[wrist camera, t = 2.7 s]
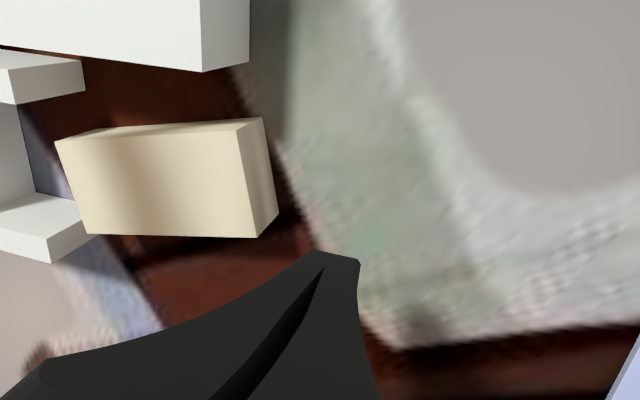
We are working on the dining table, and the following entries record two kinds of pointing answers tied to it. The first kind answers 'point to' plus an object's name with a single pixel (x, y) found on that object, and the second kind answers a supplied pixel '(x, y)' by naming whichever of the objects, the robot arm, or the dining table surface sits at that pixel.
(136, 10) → the white u-shaped block
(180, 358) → the robot arm
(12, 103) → the end cap
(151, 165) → the beige rectangular block
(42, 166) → the dining table surface
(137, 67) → the dining table surface
